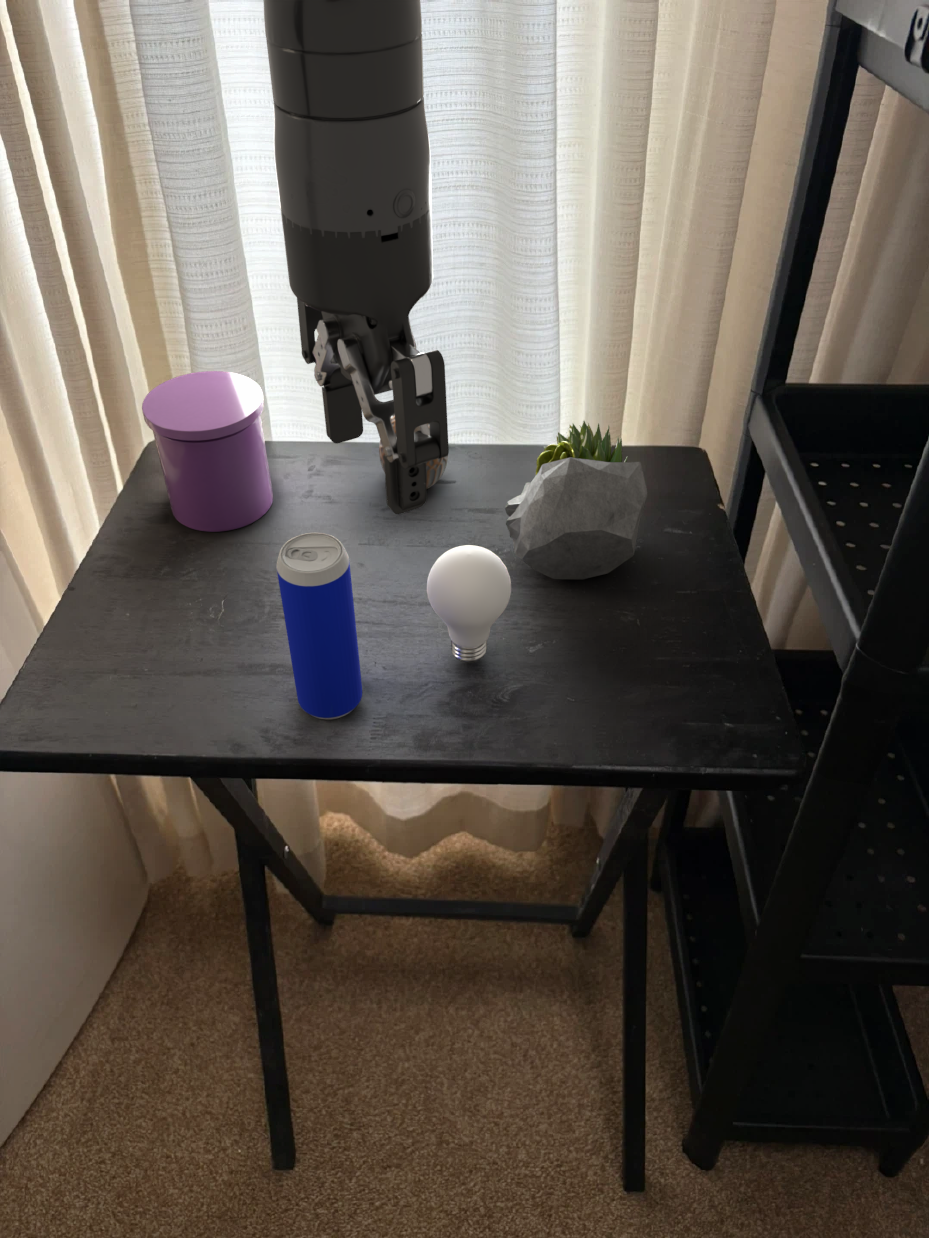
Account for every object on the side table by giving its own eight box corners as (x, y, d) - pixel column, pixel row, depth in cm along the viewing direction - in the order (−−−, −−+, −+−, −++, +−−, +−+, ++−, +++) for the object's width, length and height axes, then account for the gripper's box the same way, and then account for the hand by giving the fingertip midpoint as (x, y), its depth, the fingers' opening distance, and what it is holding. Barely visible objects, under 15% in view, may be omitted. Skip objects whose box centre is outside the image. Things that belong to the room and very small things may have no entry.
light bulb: (473, 620, 90) (473, 517, 82) (525, 660, 86) (530, 557, 78) (413, 654, 86) (407, 551, 79) (464, 698, 83) (463, 593, 75)
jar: (154, 534, 99) (127, 431, 91) (180, 470, 107) (157, 370, 100) (268, 535, 99) (251, 431, 91) (285, 471, 107) (271, 371, 99)
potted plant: (482, 567, 90) (475, 438, 98) (583, 617, 97) (569, 492, 105) (584, 499, 82) (568, 365, 90) (685, 558, 89) (662, 429, 98)
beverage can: (367, 679, 84) (354, 532, 74) (356, 725, 80) (340, 577, 70) (305, 674, 85) (283, 528, 75) (291, 721, 81) (266, 573, 71)
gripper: (234, 167, 54) (272, 433, 65) (346, 263, 45) (369, 554, 56) (363, 144, 57) (379, 403, 68) (494, 230, 48) (489, 514, 59)
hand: (375, 471), depth 62 cm, fingers open, 8 cm apart
